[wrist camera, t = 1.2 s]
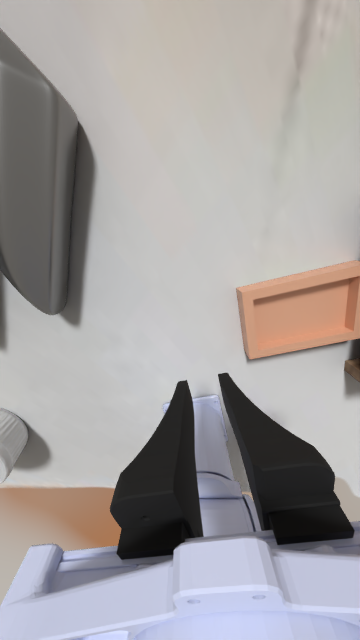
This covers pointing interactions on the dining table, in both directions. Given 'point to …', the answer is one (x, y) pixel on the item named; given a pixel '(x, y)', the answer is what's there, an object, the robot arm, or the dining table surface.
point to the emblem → (35, 180)
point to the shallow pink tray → (301, 310)
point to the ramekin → (10, 441)
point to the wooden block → (353, 368)
